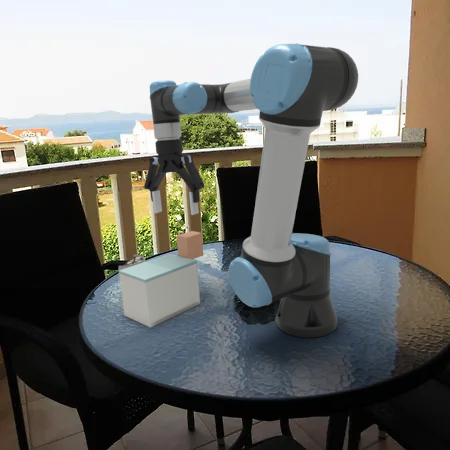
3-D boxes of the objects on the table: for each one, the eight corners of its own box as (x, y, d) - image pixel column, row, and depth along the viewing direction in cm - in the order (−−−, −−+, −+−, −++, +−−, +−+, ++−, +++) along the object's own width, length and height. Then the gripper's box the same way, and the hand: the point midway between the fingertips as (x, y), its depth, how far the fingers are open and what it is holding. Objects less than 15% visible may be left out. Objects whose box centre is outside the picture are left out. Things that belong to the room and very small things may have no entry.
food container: (139, 297, 128) (136, 266, 125) (121, 296, 129) (117, 266, 127) (154, 282, 139) (151, 254, 137) (137, 281, 141) (134, 254, 138)
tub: (200, 303, 120) (196, 263, 117) (150, 327, 108) (145, 282, 105) (173, 294, 128) (170, 256, 125) (124, 315, 116) (119, 273, 113)
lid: (212, 257, 121) (210, 234, 120) (145, 282, 105) (142, 256, 103) (185, 250, 130) (183, 229, 128) (119, 273, 113) (116, 249, 111)
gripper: (212, 135, 112) (218, 211, 117) (144, 141, 125) (152, 209, 130) (196, 137, 106) (204, 217, 111) (126, 142, 119) (135, 214, 124)
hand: (176, 213), depth 120 cm, fingers open, 13 cm apart
